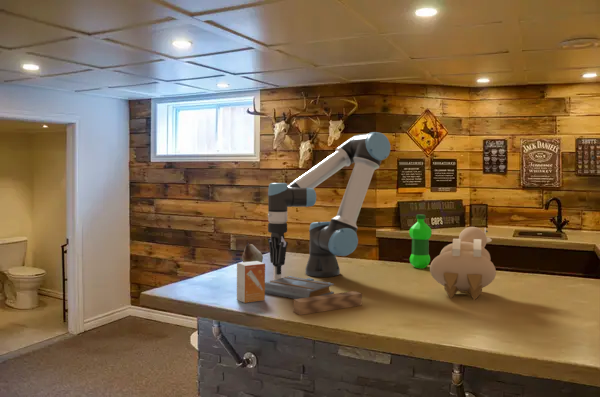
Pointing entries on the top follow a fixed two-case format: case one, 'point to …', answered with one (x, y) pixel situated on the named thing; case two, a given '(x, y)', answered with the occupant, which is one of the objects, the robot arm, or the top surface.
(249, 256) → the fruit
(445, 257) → the walrus toy
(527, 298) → the top surface
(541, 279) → the top surface
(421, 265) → the plastic bottle
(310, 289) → the book
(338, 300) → the rail
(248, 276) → the small box
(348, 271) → the top surface
